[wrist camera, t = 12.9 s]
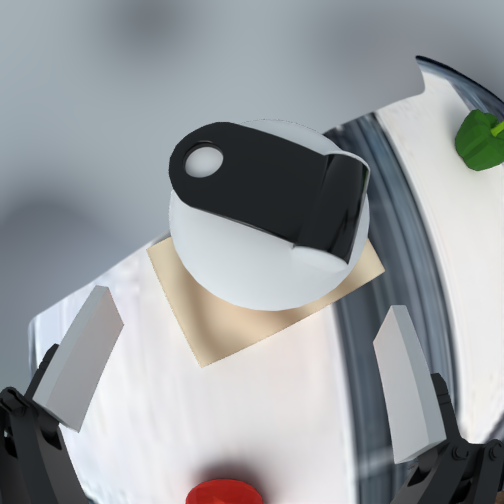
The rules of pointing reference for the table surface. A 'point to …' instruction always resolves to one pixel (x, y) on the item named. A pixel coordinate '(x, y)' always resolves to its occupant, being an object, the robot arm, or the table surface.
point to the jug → (500, 498)
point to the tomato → (224, 493)
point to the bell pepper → (481, 140)
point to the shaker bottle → (267, 212)
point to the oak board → (235, 317)
